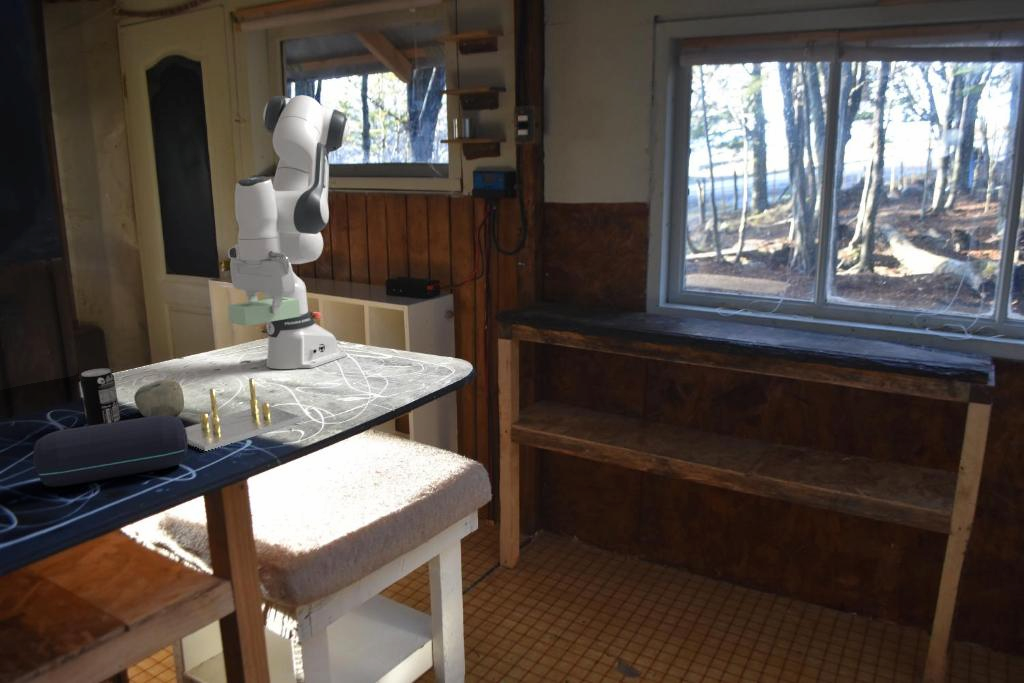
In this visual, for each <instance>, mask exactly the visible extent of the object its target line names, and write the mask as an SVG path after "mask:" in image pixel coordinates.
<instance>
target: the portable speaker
mask: <svg viewBox="0 0 1024 683" xmlns="http://www.w3.org/2000/svg"><path fill="white" fill-rule="evenodd" d="M185 428H186V427H185V425H184V424H183V421H182V419H180V417H177V416H168V415H157V416H151V417H144V416H143V417H139V418H138V417H137V418H130V419H127V420H125V419H124V420H119V421H118V422H112V423H105V424H99V425H92V426H89V425H86V426H79V427H72V428H67V429H60V430H55V431H53V432H50V433H47V434H45V435H44V436H42V437H40V438H39V439H38V440H36V441H35V444H34V446H33V462H32V463H33V466H34V468H35V471H36V473H37V476H38V479H39V480H40V481H41V483H42V484H43V485H44V486H48V487H67V486H68V487H69V486H73V485H74V486H75V485H80V484H85V483H90V482H92V483H93V482H96V481H101V480H102V481H103V480H108V479H112V478H113V479H114V478H118V477H124V476H130V475H136V474H142V473H147V472H153V471H160V470H163V469H169V467H170V468H173V467H175V466H179V465H180V464H182V463H184V461H185V458H186V455H187V452H188V438H187V433H186V429H185Z"/></svg>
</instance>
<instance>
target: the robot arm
mask: <svg viewBox="0 0 1024 683" xmlns="http://www.w3.org/2000/svg"><path fill="white" fill-rule="evenodd" d="M262 118H263V119H262V120H263V124H264V125H263V126H264V128H265V129H266V131H267V132H268V133H269V134H271V135H272V147H273V149H274V151H275V153H276V155H277V156H278V158H279V161H278V164H277V166H276V170H275V175H274V178H273V182H272V179H271V178H270V177H267V176H262V175H261V176H260V175H258V176H256V175H255V176H250V177H243V178H241V179H239V180H237V182H235V191H234V207H235V208H234V211H235V218H236V219H235V220H236V223H237V226H238V235H237V244H235V245H233V246H231V247H230V248H228V250H227V256H228V258H229V259H231V260H230V263H229V267H230V269H229V270H230V277H231V283H232V285H233V287H234V289H235V290H241V291H245V295H246V297H247V300H248V302H252V301H259V298H258V293H259V294H260V293H261V294H263V297H264V300H266V299H273V302H272V306H270V312H271V313H272V314H279V313H280V312H281V307H280V305H281V303H282V300H283V297H286V298H293V299H299V308H300V317H294V318H289V319H283V320H277V321H272V322H266V323H265V326H266V327H265V328H266V329H265V330H266V333H267V337H268V338H267V340H268V342H267V357H266V358H267V359H266V363H265V366H266V367H267V368H270V369H275V370H291V369H293V370H294V369H295V370H296V369H312V368H313V369H314V368H315V367H319V366H322V365H324V364H327V363H330V362H333V361H336V360H339V359H342V358H344V357H347V355H348V354H347V352H346V350H344V349H341V348H339V347H338V342H337V338H336V337H335V335H334V334H333V333H332V332H330V331H328V330H327V329H325V328H323V327H321V326H320V325H319V324H317V323H316V322H315V320H321V318H322V316H323V314H322V313H321V312H320V311H319V312H318V311H313V312H312V311H310V310H309V308H308V297H307V287H306V284H305V281H303V280H302V278H300V277H299V276H297V274H296V273H295V272H294V270H293V267H292V265H301V264H302V265H303V264H307V263H310V262H311V263H312V262H315V261H316V260H318V259H319V258H320V257H321V255H322V253H323V250H324V249H323V248H324V238H323V236H322V233H321V232H322V230H324V229H325V228H326V227H327V225H328V224H329V221H330V220H329V219H330V211H329V182H330V181H329V179H330V161H329V154H330V153H332V152H336V151H337V150H339V149H340V148H341V147H342V146H343V145H344V144H345V141H346V140H347V138H348V136H349V122H348V117H347V115H346V114H345V113H344V112H341V111H340V110H337V109H333V108H330V107H328V106H325V105H322V104H321V103H319V102H318V100H316V99H315V98H313V97H311V96H308V95H304V94H302V95H301V94H300V95H296V96H293V97H292V98H290V97H289V98H288V97H287V96H286V95H275V96H273V97H271V98H270V99H269V100H268V102H266V104H265V106H264V109H263V115H262Z"/></svg>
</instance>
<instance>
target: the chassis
mask: <svg viewBox="0 0 1024 683" xmlns="http://www.w3.org/2000/svg"><path fill="white" fill-rule="evenodd" d="M248 385H249V392H250V393H249V394H250V400H249V405H250V408H249V409H245V410H242V411H239V412H235V413H231V414H227V415H225V416H221V417H219V414H218V405H217V398H216V397H217V396H216V390H215V388H209V396H210V404H211V406H210V407H211V411H212V412H211V414H212V417H211V418H209V413H208V412H202V413H200V414H199V418H200V419H199V420H200V423H196V424H192V425H190V426H187V427H184V428H185V429H186V433H187V438H188V444H189V446H190V447H193V446H194V447H193V448H195V447H197V448H196V449H198V448H199V450H200V449H201V450H200V451H202V450H204V451H203V452H205V451H207V452H209V451H208V450H210V451H212V450H211V449H213V450H215V448H216V449H218V447H219V448H221V446H222V447H225V446H228V445H231V443H232V444H234V443H238V442H240V441H243V440H247V439H249V438H253V437H256V436H259V435H263V434H266V433H270V432H272V431H274V430H275V431H276V430H279V429H281V428H285V427H288V426H291V425H293V424H298V423H301V421H302V420H301V416H300V415H298V414H294V413H291V412H288V411H285V410H282V409H279V408H276V407H273V406H270V402H263V403H261V404H260V405H259V401H258V399H257V395H256V387H255V379H254V378H248ZM209 419H210V420H209Z"/></svg>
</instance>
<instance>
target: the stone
mask: <svg viewBox="0 0 1024 683" xmlns="http://www.w3.org/2000/svg"><path fill="white" fill-rule="evenodd" d="M183 392H184V391H183V388H182V386H181V384H180V383H179V382H178V381H176V380H173V379H163V380H160V379H159V380H156V381H153V382H151V383H148V384H146V385H143V386H141V387H139V388H138V389H137V390H136V392H135V393H134V403H135V405H136V407H137V409H138V411H139V412H140V414H141V415H142V416H143V417H151V416H157V415H168V416H174V417H177V415H179V414H181V413H182V412H183V411H184V407H185V398H184V393H183Z"/></svg>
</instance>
